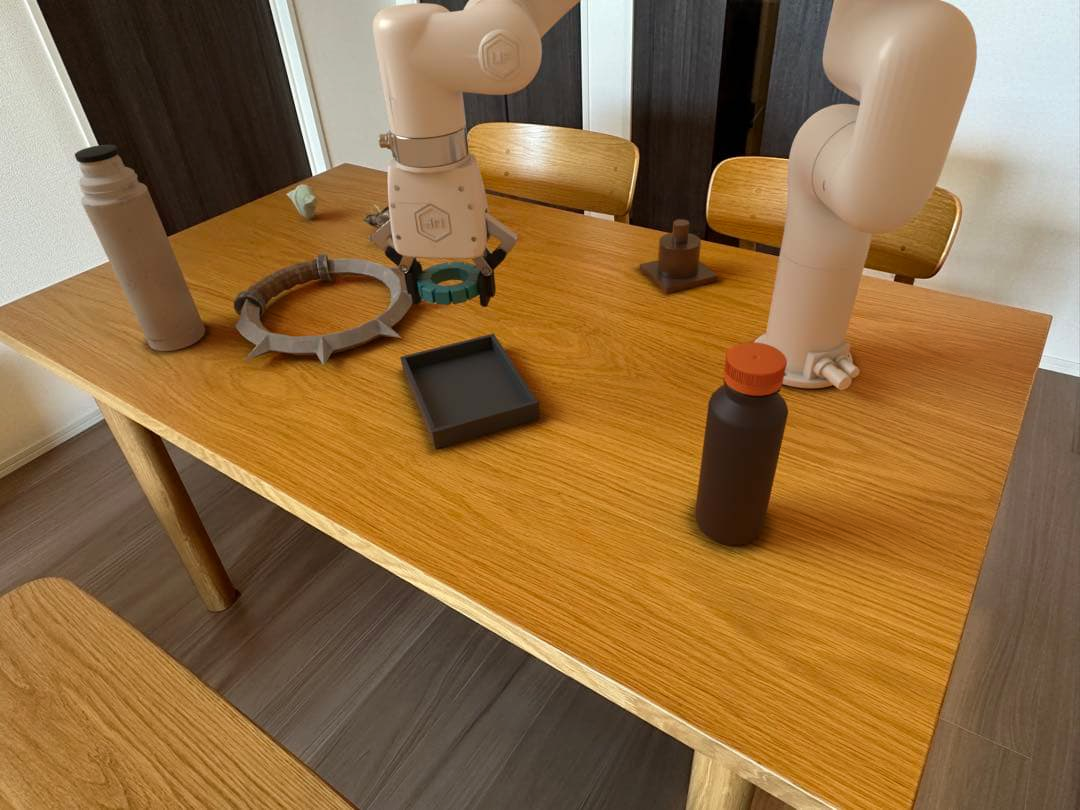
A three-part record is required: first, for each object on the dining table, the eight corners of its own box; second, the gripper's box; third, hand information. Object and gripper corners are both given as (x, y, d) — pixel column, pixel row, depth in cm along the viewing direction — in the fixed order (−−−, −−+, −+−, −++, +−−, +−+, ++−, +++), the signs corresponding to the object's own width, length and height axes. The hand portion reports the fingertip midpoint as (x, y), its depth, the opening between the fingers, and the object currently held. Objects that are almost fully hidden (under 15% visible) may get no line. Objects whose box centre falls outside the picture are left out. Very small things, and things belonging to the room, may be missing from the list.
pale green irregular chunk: (289, 217, 139) (280, 184, 135) (306, 210, 142) (297, 178, 138) (314, 226, 135) (305, 192, 131) (331, 218, 138) (322, 185, 133)
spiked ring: (183, 336, 104) (311, 411, 90) (173, 310, 101) (302, 383, 87) (353, 252, 124) (479, 301, 110) (348, 228, 122) (477, 276, 107)
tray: (539, 419, 85) (538, 402, 83) (435, 449, 81) (431, 432, 80) (495, 348, 97) (493, 333, 96) (403, 372, 94) (400, 356, 92)
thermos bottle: (138, 343, 104) (46, 155, 87) (183, 318, 109) (105, 136, 92) (171, 356, 100) (82, 163, 83) (216, 330, 106) (141, 143, 88)
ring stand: (717, 281, 109) (723, 227, 104) (666, 293, 107) (670, 239, 101) (687, 258, 116) (691, 206, 110) (639, 269, 114) (641, 217, 108)
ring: (491, 296, 78) (490, 283, 77) (427, 310, 76) (425, 297, 75) (472, 269, 84) (471, 256, 83) (412, 282, 82) (410, 269, 81)
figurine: (334, 211, 127) (396, 181, 138) (343, 242, 130) (402, 211, 141) (417, 223, 117) (476, 190, 128) (424, 257, 120) (481, 222, 132)
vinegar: (762, 553, 67) (799, 386, 54) (691, 540, 68) (711, 376, 56) (764, 502, 72) (798, 340, 59) (697, 492, 73) (717, 332, 61)
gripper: (335, 158, 68) (370, 313, 79) (508, 158, 66) (520, 319, 77) (362, 134, 74) (391, 282, 85) (522, 134, 72) (531, 286, 82)
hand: (452, 299), depth 81 cm, fingers closed on ring, 7 cm apart
